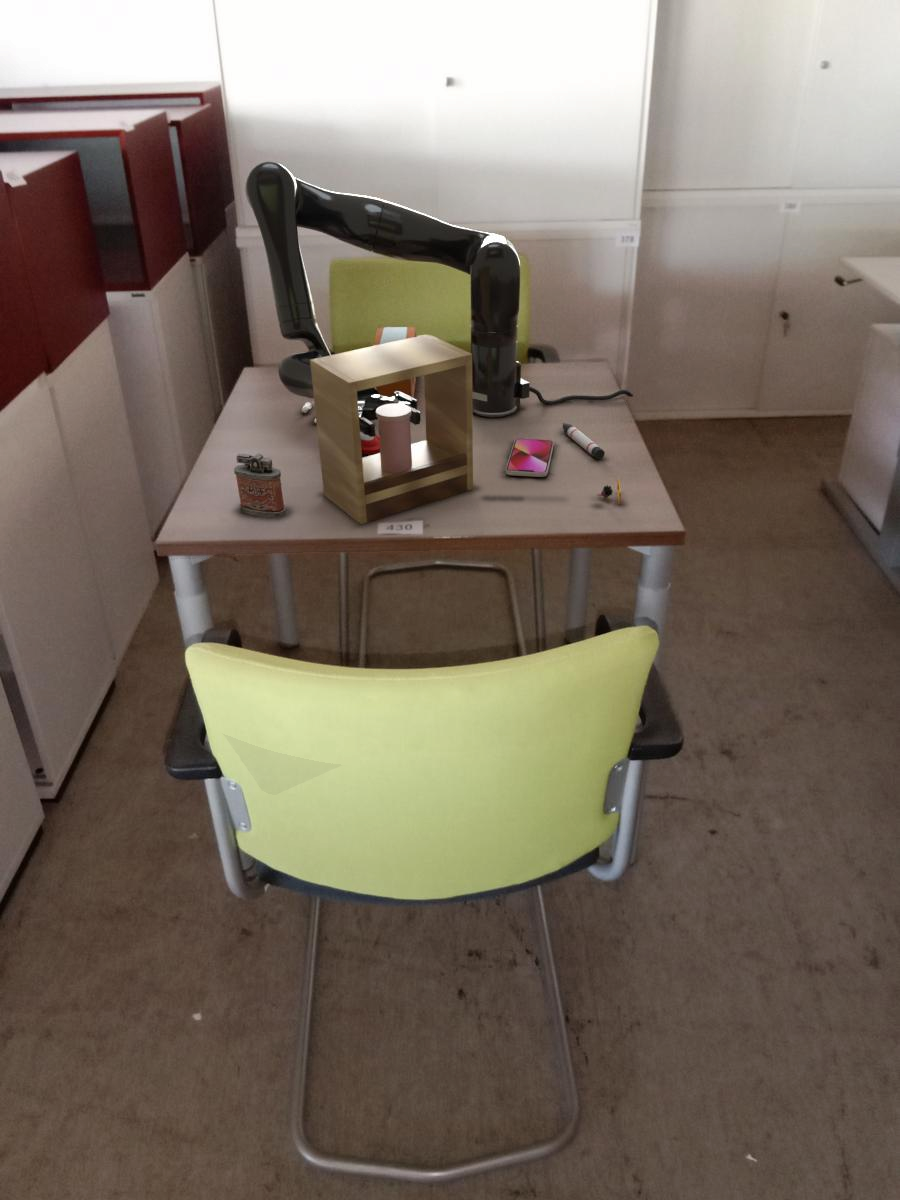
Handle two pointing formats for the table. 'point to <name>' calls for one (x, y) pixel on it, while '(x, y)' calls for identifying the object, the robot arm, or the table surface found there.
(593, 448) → the marker
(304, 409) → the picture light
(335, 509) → the table surface
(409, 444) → the lidded canister
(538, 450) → the smartphone
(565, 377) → the table surface
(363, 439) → the tracker holder
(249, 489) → the lighter
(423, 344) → the shelf
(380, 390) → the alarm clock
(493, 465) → the table surface
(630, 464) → the table surface
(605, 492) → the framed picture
